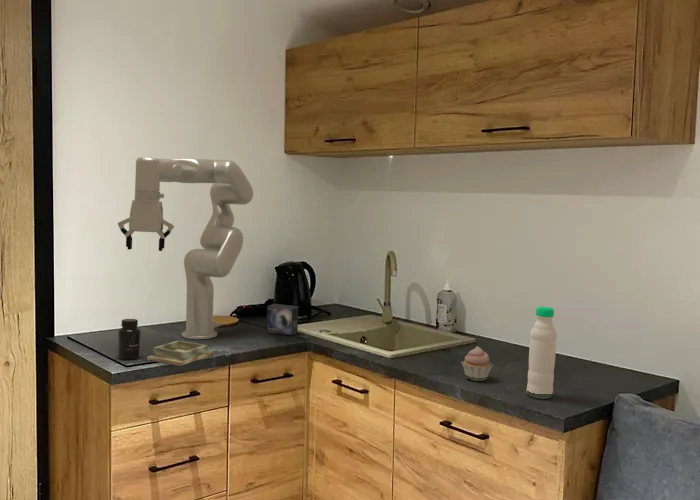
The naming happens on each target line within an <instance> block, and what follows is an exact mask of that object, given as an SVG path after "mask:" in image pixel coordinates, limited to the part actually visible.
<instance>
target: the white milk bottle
mask: <svg viewBox="0 0 700 500" xmlns="http://www.w3.org/2000/svg"><path fill="white" fill-rule="evenodd" d="M535 315H536V321H535V323H534V324H533V327H532V328H531V329H530V341H529V352H528V371H527V385H526V392H527V391H529V392H531V393H535V394H552V393H553V394H554V379H555V373H554V371H555V364H556V351H557V345H556V343H557V337H558V334H557V331H556V328H555V326H554V323H553V319H554V316H555V310H554V308H553V307H550V306H549V307H548V306H538V307H537V308H536V309H535Z"/></svg>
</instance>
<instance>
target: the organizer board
mask: <svg viewBox="0 0 700 500" xmlns="http://www.w3.org/2000/svg"><path fill="white" fill-rule="evenodd" d="M213 354H214V352H213V351H210V350H209V345H208V344H203V343H195V342H190V341H184V340H175V341H171V342H169V343H164V344H160V345H158V346H154V347H152V355H148V356H146V359H147V361H151V360H152V362H156V363H157V362H158V363H162V364H169V365H174V366H177V367H181V366H185V365H188V364H190V363H193V362H196V361H199V360H202V359H206V358H208V357H212V356H213Z"/></svg>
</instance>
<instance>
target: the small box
mask: <svg viewBox="0 0 700 500" xmlns="http://www.w3.org/2000/svg"><path fill="white" fill-rule="evenodd" d="M298 324H299V305H290V304H288V305H287V304H282V303H281V304H279V303H272V304H270V305H268V306H266V334H269V333H271V334H270V335H277V334H281V335H280V336H285V335H291V336H290V337H292V335H293V336H295V335H296V334H295V333H297V332H298V331H299V330H298V328H299V325H298ZM294 334H295V335H294ZM297 334H298V333H297Z"/></svg>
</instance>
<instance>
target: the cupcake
mask: <svg viewBox="0 0 700 500" xmlns="http://www.w3.org/2000/svg"><path fill="white" fill-rule="evenodd" d="M460 363H461V365H462V367H463V370H464V371H463V372H464V376H465V375H467V376H469V377H474V378H486V377H488V378H489V375H490V371H491V369H492V368H493V366H494V364H492V362H490V356H489V354H488V353H487V352H485V351H484V350H483V349H482V348H481V347H479V346H478V345H477V346H476V347H475V348H473V349H471V350H470V351H468V353H467V354H466V355H465V357H464V360H463V361H461V362H460Z"/></svg>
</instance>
